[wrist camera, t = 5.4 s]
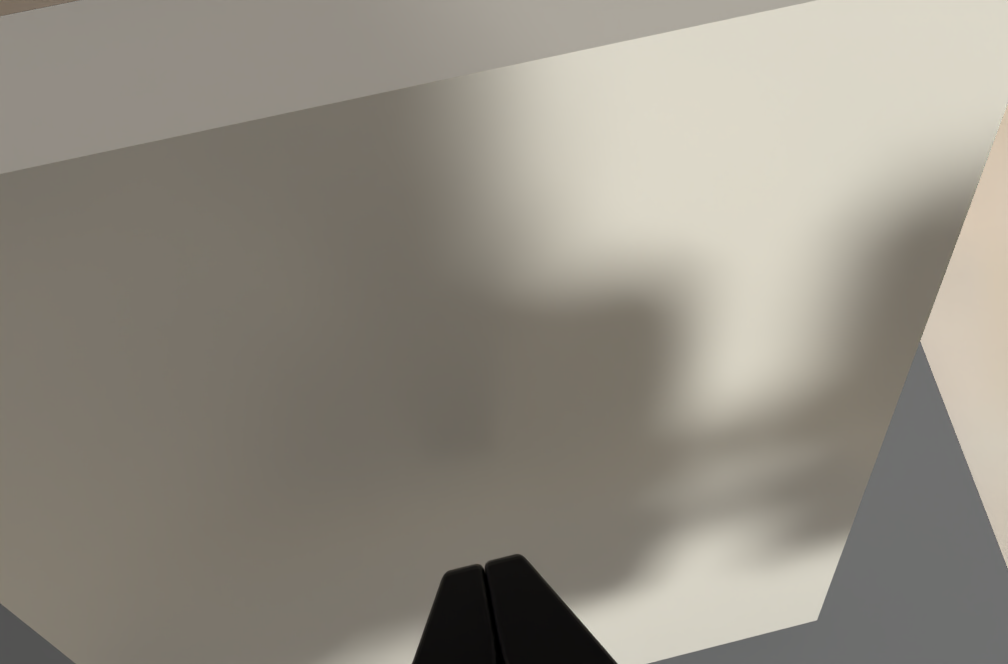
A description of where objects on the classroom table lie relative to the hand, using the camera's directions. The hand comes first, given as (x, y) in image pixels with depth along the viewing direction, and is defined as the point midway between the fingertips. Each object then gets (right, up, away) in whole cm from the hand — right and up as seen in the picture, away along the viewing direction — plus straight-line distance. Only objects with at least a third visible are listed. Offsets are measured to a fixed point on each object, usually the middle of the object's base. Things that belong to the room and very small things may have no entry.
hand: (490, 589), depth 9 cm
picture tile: (0, -2, +6) cm, 6 cm away
